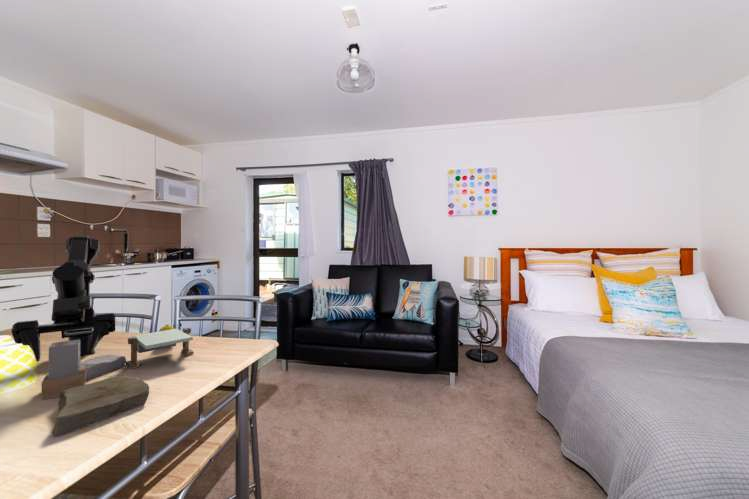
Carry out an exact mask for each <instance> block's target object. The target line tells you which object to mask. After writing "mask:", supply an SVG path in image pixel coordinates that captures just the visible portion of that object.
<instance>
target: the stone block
mask: <svg viewBox="0 0 749 499" xmlns="http://www.w3.org/2000/svg"><path fill="white" fill-rule="evenodd" d="M126 361H127V358H126V356H124V355H119V354H114V353H113V354H112V353H109V354H103V355H100V356H95V357H92V358H89V359H86V360H84V361H81V362H80V367H86V381H88V380H92V379H94V378H97V377H99V376H102V375H104V374H106V373H109V372H112V371H114V370H117V369H120V368H122V367H124V366H126Z"/></svg>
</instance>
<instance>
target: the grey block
mask: <svg viewBox="0 0 749 499" xmlns="http://www.w3.org/2000/svg"><path fill="white" fill-rule="evenodd" d="M80 363H81V356H80V339H78V340H71V341H68V340H64V341H57V342H52V343H50V346H49V347H48V373H49V380H52V379H57V378H63V377H68V376H74V375H78V373H79V371H80Z"/></svg>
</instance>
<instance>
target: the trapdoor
mask: <svg viewBox="0 0 749 499" xmlns="http://www.w3.org/2000/svg"><path fill="white" fill-rule="evenodd" d="M132 337H136V338H137V354H141V353H142V354H143V353H148V352H152V351H157V350H161V349H167V348H171V347H176V346H177V344H182V343H183V342H186V341H189V342H191V341H193V340H194V337H193V336H191V335H190V334H189V335H188V334H186V333H184V332H183V330H180V329H178V328H175V329H171V330H165V331H159V330H158V331H154V332H148V333H142V334H135V335H132Z"/></svg>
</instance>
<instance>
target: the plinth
mask: <svg viewBox="0 0 749 499" xmlns="http://www.w3.org/2000/svg"><path fill="white" fill-rule="evenodd" d="M86 383H87V380H86V367H80V371H79V373H78V375H74V376H68V377H63V378H57V379H52V380H49V372H47V373H46V375H45V377H43V380H42V381H41V401H43V400H48V399H53V398H60V393H61V392H62V391H63V390H67V389H70V388H74V387H78V386H82V385H86Z"/></svg>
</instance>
